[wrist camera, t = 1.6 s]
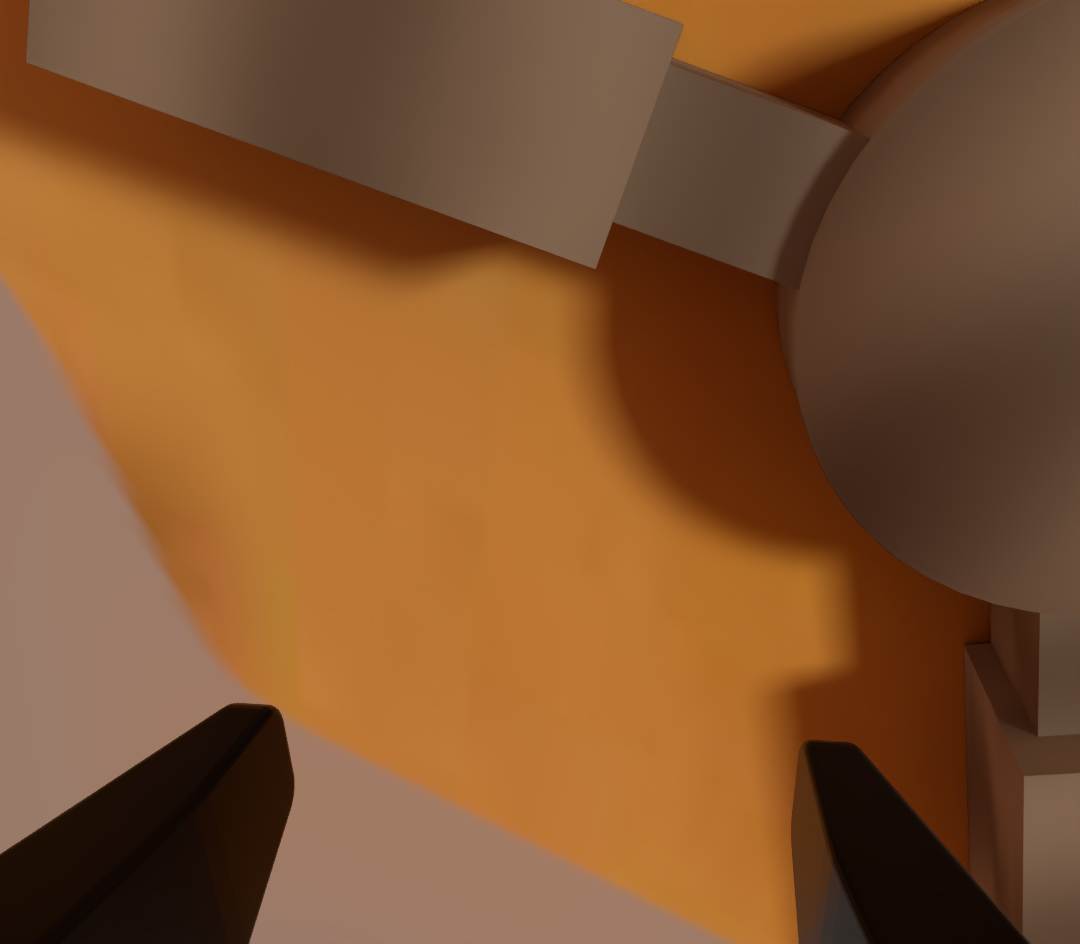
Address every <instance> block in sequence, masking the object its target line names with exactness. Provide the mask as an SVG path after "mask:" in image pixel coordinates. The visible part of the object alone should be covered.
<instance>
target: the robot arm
mask: <svg viewBox="0 0 1080 944" xmlns="http://www.w3.org/2000/svg"><path fill="white" fill-rule="evenodd" d="M293 797H294V773H293V768H292V763H291V757H290V752H289V747H288V742H287V737H286V732H285V727H284V721H283V718H282V715H281V713H280V711H279V710H278V709H277V708H276V707H274V706H272V705H263V704H248V703H233V704H230V705H227V706H226V707H224V708H222V709H220V710H219V711H217V712H216V713H214V714H213V715H211V716H210V717H208V718H207V719H205V720H204V721H202V722H201V723H199V724H198V725H196V726H195V727H193V728H191V729H190V730H188V731H187V732H186V733H184V734H182V735H181V736H179V737H178V738H176V739H175V740H173V741H172V742H170V743H169V744H167V745H166V746H164V747H163V748H161V749H160V750H158V751H156V752H155V753H153V754H152V755H150V756H149V757H147V758H146V759H144V760H143V761H141V762H140V763H138V764H137V765H135V766H134V767H132V768H131V769H129V770H128V771H126V772H125V773H123V774H122V775H120V776H118V777H117V778H115V779H114V780H112V781H111V782H109V783H108V784H106V785H105V786H103V787H102V788H100V789H99V790H97V791H96V792H94V793H93V794H91V795H90V796H88V797H87V798H85V799H83V800H82V801H80V802H79V803H77V804H76V805H74V806H73V807H71V808H70V809H68V810H67V811H65V812H64V813H62V814H61V815H59V816H58V817H56V818H55V819H53V820H52V821H50V822H48V823H47V824H45V825H44V826H42V827H41V828H39V829H38V830H36V831H35V832H33V833H32V834H30V835H29V836H27V837H26V838H24V839H23V840H21V841H20V842H18V843H16V844H15V845H13V846H12V847H10V848H9V849H7V850H6V851H4V852H3V853H1V854H0V944H249V942H250V938H251V935H252V932H253V929H254V926H255V922H256V919H257V916H258V912H259V910H260V906H261V903H262V900H263V897H264V893H265V890H266V887H267V883H268V880H269V877H270V874H271V871H272V868H273V864H274V861H275V858H276V855H277V851H278V848H279V845H280V842H281V838H282V835H283V832H284V829H285V826H286V823H287V819H288V816H289V813H290V810H291V806H292V802H293ZM791 842H792V857H793V870H794V884H795V897H796V910H797V924H798V937H799V944H1031V943H1030V942H1029V941H1028V940H1027V939H1026V937H1025V936H1024V935H1023V934H1022V933H1021V932H1020V931H1019V929H1018V928H1017V927H1016V926H1015V925H1014V924H1013V923H1012V921H1011V920H1010V919H1009V918H1008V917H1007V916H1006V915H1005V914H1004V912H1003V911H1002V910H1001V909H1000V908H999V907H998V906H997V904H996V903H995V902H994V901H993V900H992V899H991V898H990V896H989V895H988V894H987V893H986V892H985V891H984V890H983V888H982V887H981V886H980V885H979V884H978V883H977V882H976V880H975V879H974V878H973V877H972V876H971V875H970V874H969V872H968V871H967V870H966V869H965V868H964V867H963V866H962V864H961V863H960V862H959V861H958V860H957V859H956V858H955V856H954V855H953V854H952V853H951V852H950V851H949V850H948V849H947V847H946V846H945V845H944V844H943V843H942V842H941V841H940V839H939V838H938V837H937V836H936V835H935V834H934V833H933V831H932V830H931V829H930V828H929V827H928V826H927V825H926V823H925V822H924V821H923V820H922V819H921V818H920V817H919V815H918V814H917V813H916V812H915V811H914V810H913V809H912V807H911V806H910V805H909V804H908V803H907V802H906V801H905V799H904V798H903V797H902V796H901V795H900V794H899V793H898V791H897V790H896V789H895V788H894V787H893V786H892V785H891V783H890V782H889V781H888V780H887V779H886V778H885V777H884V776H883V774H882V773H881V772H880V771H879V770H878V769H877V768H876V766H875V765H874V764H873V763H872V762H871V761H870V760H869V758H868V757H867V756H866V755H865V754H864V753H863V752H862V750H861V749H860V748H859V747H857V746H856V745H854V744H852V743H848V742H837V741H821V740H807V741H806V742H804V743H803V744H802V746H801V747H800V751H799V757H798V766H797V775H796V783H795V792H794V801H793V810H792V821H791Z"/></svg>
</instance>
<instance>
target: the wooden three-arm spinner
mask: <svg viewBox="0 0 1080 944" xmlns="http://www.w3.org/2000/svg"><path fill="white" fill-rule="evenodd" d="M683 25H684V24H681V23H679V22H676V21H673V20H670V19H668V18H665V17H662V16H660V15H657V14H654V13H652V12H649V11H646V10H643V9H641V8H638V7H635V6H633V5H630V4H627V3H624V2H622V1H619V0H29V17H28V34H27V51H26V63H29V64H31V65H34V66H37V67H40V68H42V69H45V70H48V71H51V72H53V73H56V74H59V75H62V76H64V77H67V78H70V79H73V80H75V81H78V82H81V83H84V84H86V85H89V86H92V87H95V88H97V89H100V90H103V91H106V92H108V93H111V94H114V95H117V96H119V97H122V98H125V99H128V100H130V101H133V102H136V103H139V104H141V105H144V106H147V107H150V108H152V109H155V110H158V111H161V112H163V113H166V114H169V115H172V116H174V117H177V118H180V119H183V120H185V121H188V122H191V123H194V124H196V125H199V126H202V127H205V128H208V129H210V130H213V131H216V132H219V133H221V134H224V135H227V136H230V137H232V138H235V139H238V140H241V141H243V142H246V143H249V144H252V145H254V146H257V147H260V148H263V149H265V150H268V151H271V152H274V153H276V154H279V155H282V156H285V157H287V158H290V159H293V160H296V161H298V162H301V163H304V164H307V165H309V166H312V167H315V168H318V169H320V170H323V171H326V172H329V173H331V174H334V175H337V176H340V177H342V178H345V179H348V180H351V181H353V182H356V183H359V184H362V185H364V186H367V187H370V188H373V189H376V190H378V191H381V192H384V193H387V194H389V195H392V196H395V197H398V198H400V199H403V200H406V201H409V202H411V203H414V204H417V205H420V206H422V207H425V208H428V209H431V210H433V211H436V212H439V213H442V214H444V215H447V216H450V217H453V218H455V219H458V220H461V221H464V222H466V223H469V224H472V225H475V226H477V227H480V228H483V229H486V230H488V231H491V232H494V233H497V234H499V235H502V236H505V237H508V238H510V239H513V240H516V241H519V242H521V243H524V244H527V245H530V246H532V247H535V248H538V249H541V250H543V251H546V252H549V253H552V254H555V255H557V256H560V257H563V258H566V259H568V260H571V261H574V262H577V263H579V264H582V265H585V266H588V267H590V268H593V269H596V267H597V264H598V261H599V258H600V256H601V253H602V250H603V247H604V245H605V242H606V239H607V236H608V233H609V231H610V228H611V225H612V222H614V223H617V224H620V225H622V226H625V227H628V228H631V229H633V230H636V231H639V232H641V233H644V234H647V235H650V236H652V237H655V238H658V239H661V240H663V241H666V242H669V243H672V244H674V245H677V246H680V247H683V248H685V249H688V250H691V251H694V252H696V253H699V254H702V255H705V256H707V257H710V258H713V259H716V260H718V261H721V262H724V263H727V264H729V265H732V266H735V267H738V268H740V269H743V270H746V271H748V272H751V273H754V274H757V275H759V276H762V277H765V278H768V279H770V280H773V281H776V282H777V295H776V313H777V320H778V328H779V335H780V342H781V347H782V351H783V354H784V358H785V361H786V364H787V368H788V371H789V375H790V378H791V381H792V384H793V388H794V391H795V394H796V397H797V400H798V404H799V407H800V410H801V413H802V416H803V420H804V423H805V426H806V429H807V432H808V436H809V439H810V442H811V445H812V448H813V450H814V452H815V454H816V457H817V459H818V461H819V463H820V465H821V468H822V470H823V472H824V474H825V476H826V479H827V480H828V482H829V483H830V485H831V486H832V488H833V489H834V491H835V493H836V494H837V496H838V497H839V499H840V500H841V502H842V503H843V505H844V506H845V508H846V509H847V510H848V511H849V513H850V514H851V515H852V516H853V517H854V518H855V519H856V520H857V522H858V523H859V524H860V525H861V526H862V527H863V528H864V530H865V531H866V532H867V533H868V534H869V535H870V536H871V537H872V538H873V539H875V540H876V541H877V542H878V543H879V544H881V545H882V546H883V547H884V548H885V549H886V550H888V551H889V552H890V553H891V554H892V555H894V556H895V557H896V558H897V559H899V560H900V561H902V562H904V563H905V564H907V565H908V566H910V567H911V568H913V569H915V570H916V571H918V572H919V573H921V574H922V575H924V576H926V577H927V578H930V579H932V580H934V581H936V582H938V583H940V584H942V585H944V586H947V587H949V588H951V589H953V590H955V591H957V592H959V593H962V594H965V595H968V596H972V597H975V598H978V599H981V600H984V601H987V602H990V603H991V643H985V644H973V645H964V664H965V706H966V748H967V790H968V831H969V873H970V875H971V876H972V877H973V878H974V879H975V880H976V882H977V883H978V884H979V885H980V886H981V887H982V888H983V890H984V891H985V892H986V893H987V894H988V895H989V896H990V898H991V899H992V900H993V901H994V902H995V903H996V904H997V906H998V907H999V908H1000V909H1001V910H1002V911H1003V912H1004V914H1005V915H1006V916H1007V917H1008V918H1009V919H1010V920H1011V921H1012V923H1013V924H1014V925H1015V926H1016V927H1017V928H1018V929H1019V931H1020V932H1021V933H1022V934H1023V935H1024V936H1025V937H1026V939H1027V940H1028V941H1029V942H1030V943H1031V944H1080V0H986V1H984V2H982V3H980V4H978V5H976V6H975V7H973V8H971V9H969V10H967V11H965V12H963V13H961V14H959V15H958V16H956V17H954V18H952V19H950V20H948V21H947V22H945V23H944V24H942V25H941V26H939V27H938V28H937V29H935V30H934V31H932V32H931V33H929V34H928V35H926V36H925V37H923V38H922V39H920V40H919V41H918V42H916V43H915V44H913V45H912V46H911V47H909V48H908V49H907V50H906V51H905V52H904V53H903V54H901V55H900V56H899V57H898V58H897V59H896V60H894V61H893V62H892V63H891V64H890V65H889V66H887V67H886V68H885V69H884V70H883V71H882V72H881V73H879V74H878V75H877V76H876V78H875V79H874V80H873V81H872V82H871V83H870V84H869V85H868V86H867V87H866V88H865V89H864V91H863V92H862V93H861V94H860V95H859V96H858V97H857V98H856V99H855V100H854V101H853V103H852V104H851V105H850V106H849V107H848V109H847V110H846V111H845V113H844V114H843V115H842V117H841V118H840V120H839V119H836V118H834V117H831V116H828V115H825V114H823V113H820V112H817V111H815V110H812V109H809V108H806V107H804V106H801V105H798V104H796V103H793V102H790V101H788V100H785V99H782V98H779V97H777V96H774V95H771V94H769V93H766V92H763V91H760V90H758V89H755V88H752V87H750V86H747V85H744V84H741V83H739V82H736V81H733V80H731V79H728V78H725V77H723V76H720V75H717V74H714V73H712V72H709V71H706V70H704V69H701V68H698V67H695V66H693V65H690V64H687V63H685V62H682V61H679V60H676V59H674V58H672V56H673V53H674V50H675V47H676V45H677V42H678V39H679V36H680V33H681V31H682V28H683Z"/></svg>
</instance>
